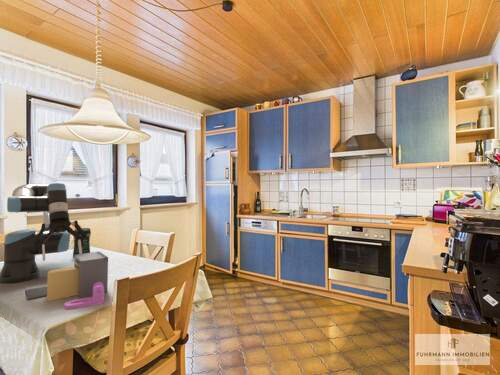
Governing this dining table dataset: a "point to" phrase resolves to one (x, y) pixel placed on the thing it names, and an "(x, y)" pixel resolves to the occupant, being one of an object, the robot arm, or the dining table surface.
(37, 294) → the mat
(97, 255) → the dispenser
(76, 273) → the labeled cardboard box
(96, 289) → the bracket
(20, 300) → the dining table surface
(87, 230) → the coffee jar
